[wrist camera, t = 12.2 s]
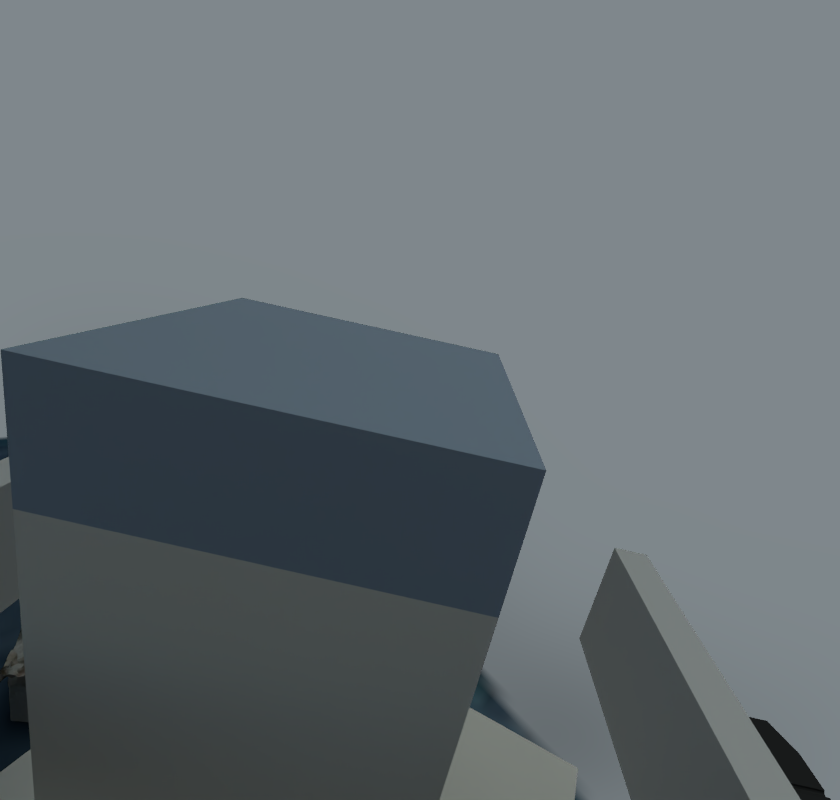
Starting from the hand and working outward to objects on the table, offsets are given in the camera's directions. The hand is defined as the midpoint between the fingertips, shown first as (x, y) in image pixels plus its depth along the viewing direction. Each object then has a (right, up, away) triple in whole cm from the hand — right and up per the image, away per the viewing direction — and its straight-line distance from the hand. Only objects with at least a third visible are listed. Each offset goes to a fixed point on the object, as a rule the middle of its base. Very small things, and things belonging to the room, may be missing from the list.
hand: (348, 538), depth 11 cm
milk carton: (-2, -9, +1) cm, 9 cm away
